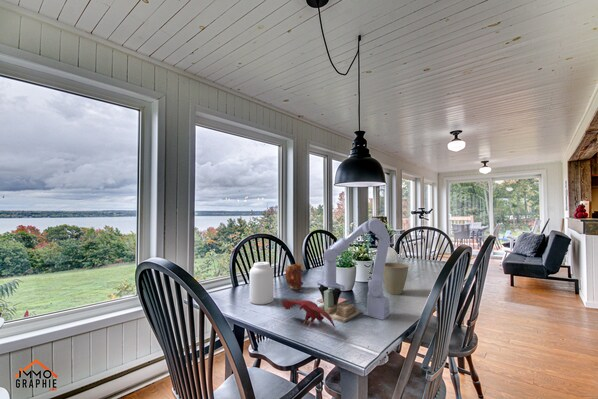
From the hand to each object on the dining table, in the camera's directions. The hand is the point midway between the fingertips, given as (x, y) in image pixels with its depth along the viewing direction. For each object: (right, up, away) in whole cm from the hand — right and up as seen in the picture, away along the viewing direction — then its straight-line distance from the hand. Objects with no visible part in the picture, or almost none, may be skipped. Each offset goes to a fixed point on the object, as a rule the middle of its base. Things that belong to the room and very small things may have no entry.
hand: (330, 303), depth 139 cm
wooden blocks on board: (+3, -4, -3) cm, 6 cm away
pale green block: (0, -3, 0) cm, 3 cm away
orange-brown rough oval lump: (-18, -5, +36) cm, 40 cm away
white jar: (-34, -5, +15) cm, 38 cm away
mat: (+2, -4, +15) cm, 16 cm away
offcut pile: (+6, -3, -6) cm, 9 cm away
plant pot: (+40, -5, +29) cm, 49 cm away
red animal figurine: (-10, -4, -16) cm, 19 cm away
